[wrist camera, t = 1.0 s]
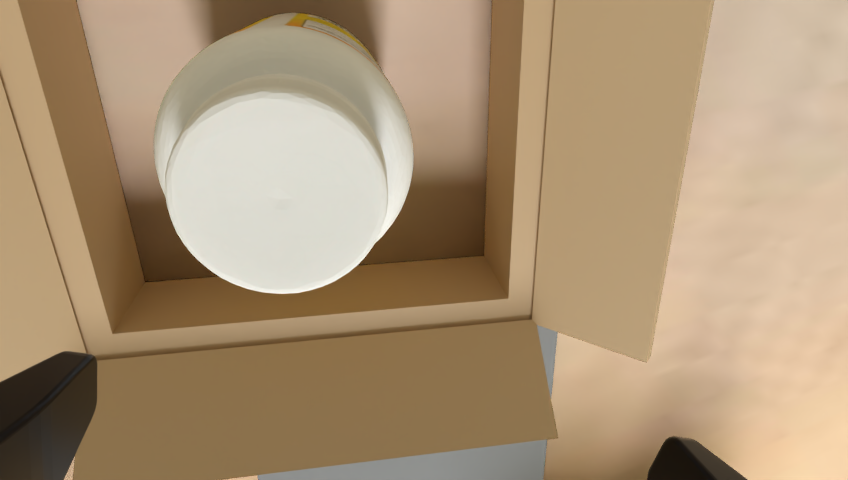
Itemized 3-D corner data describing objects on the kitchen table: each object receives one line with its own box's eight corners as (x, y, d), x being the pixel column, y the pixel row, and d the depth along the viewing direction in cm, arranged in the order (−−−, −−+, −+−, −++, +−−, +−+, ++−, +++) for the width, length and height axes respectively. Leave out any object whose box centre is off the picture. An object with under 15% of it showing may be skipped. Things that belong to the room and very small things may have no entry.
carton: (61, 379, 22) (-36, 518, 16) (-179, -321, 14) (-556, -549, 8) (569, 329, 25) (641, 434, 19) (634, -283, 16) (801, -433, 11)
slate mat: (274, 540, 27) (272, 559, 27) (237, 331, 23) (233, 345, 22) (532, 505, 29) (539, 521, 28) (550, 302, 24) (559, 314, 23)
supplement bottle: (229, 179, 20) (142, 341, 11) (208, 10, 18) (73, 34, 9) (386, 174, 21) (429, 322, 12) (384, 12, 19) (435, 35, 9)
